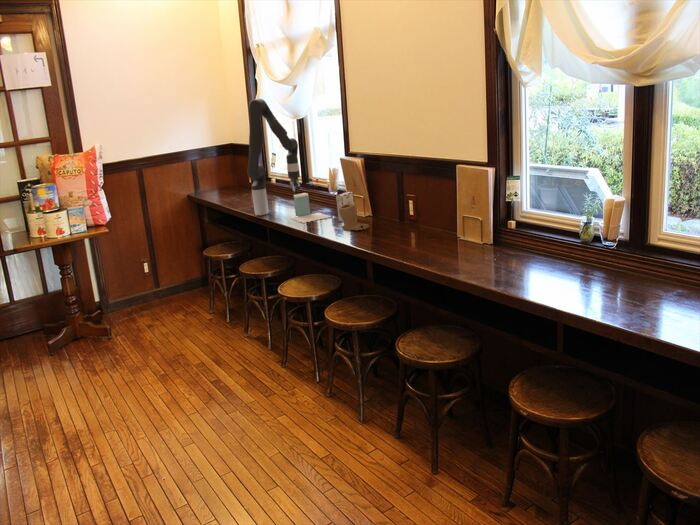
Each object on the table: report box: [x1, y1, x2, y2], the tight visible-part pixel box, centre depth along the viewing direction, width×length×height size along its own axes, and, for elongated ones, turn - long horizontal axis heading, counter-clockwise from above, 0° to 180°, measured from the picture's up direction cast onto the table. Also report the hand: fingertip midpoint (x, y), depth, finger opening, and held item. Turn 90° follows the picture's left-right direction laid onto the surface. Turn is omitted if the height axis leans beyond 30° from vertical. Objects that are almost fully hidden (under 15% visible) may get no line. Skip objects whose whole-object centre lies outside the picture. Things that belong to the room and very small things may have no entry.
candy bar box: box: [335, 191, 355, 223], centre depth 377 cm, size 11×5×16 cm, turn 143°
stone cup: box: [339, 203, 370, 231], centre depth 352 cm, size 15×12×15 cm
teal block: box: [293, 192, 311, 217], centre depth 399 cm, size 5×8×14 cm, turn 120°
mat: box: [290, 212, 332, 224], centre depth 392 cm, size 17×20×1 cm
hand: (296, 196), depth 404 cm, fingers closed
